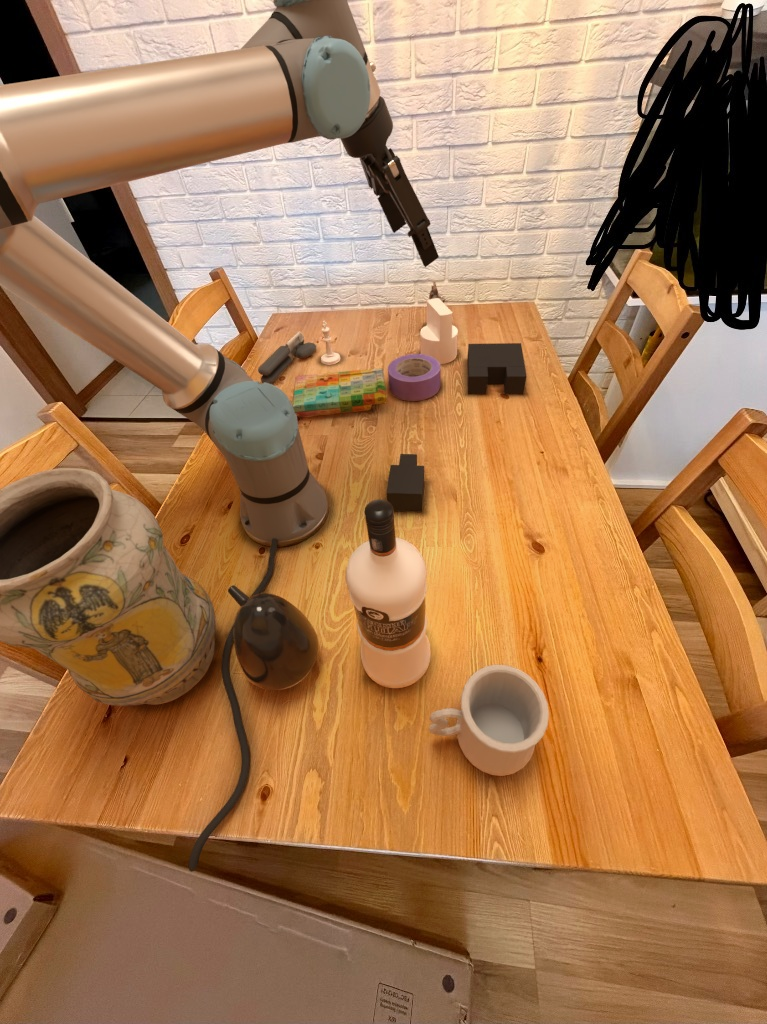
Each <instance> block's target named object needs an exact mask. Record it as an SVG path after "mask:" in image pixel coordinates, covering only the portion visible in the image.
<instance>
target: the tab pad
mask: <svg viewBox="0 0 767 1024" xmlns="http://www.w3.org/2000/svg"><path fill="white" fill-rule="evenodd" d="M386 485H387V486H386V491H385V496H386V501H388V502H389V503H391V505H392V506H393V509H394V511H393V512H410V513H411V512H412V513H423V510H424V509H423V507H424V496H425V495H424V494H425V465H418V454H417V453H400V454H399V462H398V464H390V466H389V473H388V479H387V484H386Z"/></svg>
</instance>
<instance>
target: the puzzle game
mask: <svg viewBox="0 0 767 1024" xmlns="http://www.w3.org/2000/svg"><path fill="white" fill-rule="evenodd" d="M384 373H385V372H384V367H381V368H380V367H379V368H369V369H357V370H347V371H336V372H326V373H313V374H303V375H297V376H295V378H294V388H293V396H292V397H293V398H292V407H293V409H294V412H295V413H296V415H297V416H299V417H301V418H307V417H317V416H327V415H335V414H337V415H338V414H347V413H355V412H367V411H370V410H371V409H372V406H374V405H383V404H385V403H388V397H387V389H386V381H385V374H384Z"/></svg>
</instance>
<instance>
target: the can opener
mask: <svg viewBox="0 0 767 1024" xmlns="http://www.w3.org/2000/svg"><path fill="white" fill-rule="evenodd" d="M316 350H317V345H316V343H314V342H308V341H307V342H305V337H304V334H303V333H302V331H300V330H298V331H297V332H296V333H295V334H294V335H293V336H292V337H291V338H290V339H288V341H287V342H286V343H285V344H284V345H280V346H279V347H277V349H276V350H275V351H273V353H272V354H271V355H269V357H268V358H267V359H265V361H264V362H263V363H261V364H260V366H259V367H258V368H257V372H258V373H259V374H260V375H261V376H260V382H261V384H262V383H264V382H266V383H269V384H272V385H273V383H274V382H275V381H276V380H277V379H278V378H279V377H280V375H282V374H283V372H284V371H285V370H286V369H288V367H289V366H290V365H291V364H293V360H294V359H295V358H294V356H296V357H297V359H298V358H299V359H306V358H309V357H311V356H313V355H314V354H315V353H316Z"/></svg>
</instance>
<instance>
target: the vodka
mask: <svg viewBox="0 0 767 1024" xmlns="http://www.w3.org/2000/svg"><path fill="white" fill-rule="evenodd" d="M363 512H364V517H365V523H366V530H367V536H368V537H367V538H368V540H367V541H364V542H363V543H361V544H360V545H359V546H357V548H356V549H355V550H354V551H353V552H352V554H351V556H350V557H349V558H348V561H347V566H346V570H345V581H346V586H347V589H348V593H349V599H350V600H351V603H352V604H353V608H354V612H355V616H356V628H357V632H358V635H359V637H360V639H361V644H360V659H361V663H362V667H363V670H364V671H365V673H366V674H367V676H368V677H369V678H370V679H371V680H372V681H374V683H376V684H378V685H379V686H382V687H385V688H389V689H402V688H406V687H409V686H412V685H413V684H415V683H416V682H418V681H419V680H421V679H422V677H423V676H424V675H425V674H426V672H427V671H428V668H429V666H430V663H431V643H430V640H429V637H428V635H427V634H426V633H427V629H428V617H427V613H426V595H427V591H428V590H427V589H428V585H427V584H428V583H427V577H428V569H427V564H426V561H425V559H424V557H423V555H422V554H421V552H420V550H419V549H418V548H417V547H416V546H415V545H413V544H412V543H411V542H409V540H406V539H403V538H401V537H397V536H396V525H395V514H394V513H395V511H394V509H393V506H392V505H391V503H389V502H388V501H387V499H386V500H385V499H378V498H377V499H374V500H371V501H369V502H368V503H367V504H366V505H365V507H364V510H363Z"/></svg>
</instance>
